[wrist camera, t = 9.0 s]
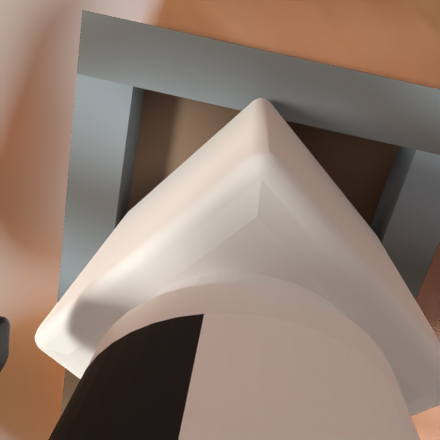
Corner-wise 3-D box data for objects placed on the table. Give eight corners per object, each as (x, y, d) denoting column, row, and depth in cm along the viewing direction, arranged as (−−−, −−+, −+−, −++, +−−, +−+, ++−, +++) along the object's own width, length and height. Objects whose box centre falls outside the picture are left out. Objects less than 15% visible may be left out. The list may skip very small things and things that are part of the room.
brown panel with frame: (313, 479, 20) (320, 521, 18) (64, 421, 20) (44, 456, 18) (462, 103, 14) (499, 102, 12) (106, 24, 14) (82, 10, 12)
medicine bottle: (239, 322, 17) (201, 829, 6) (124, 213, 15) (-237, 672, 4) (379, 237, 14) (757, 861, 3) (262, 91, 12) (278, 468, 1)
